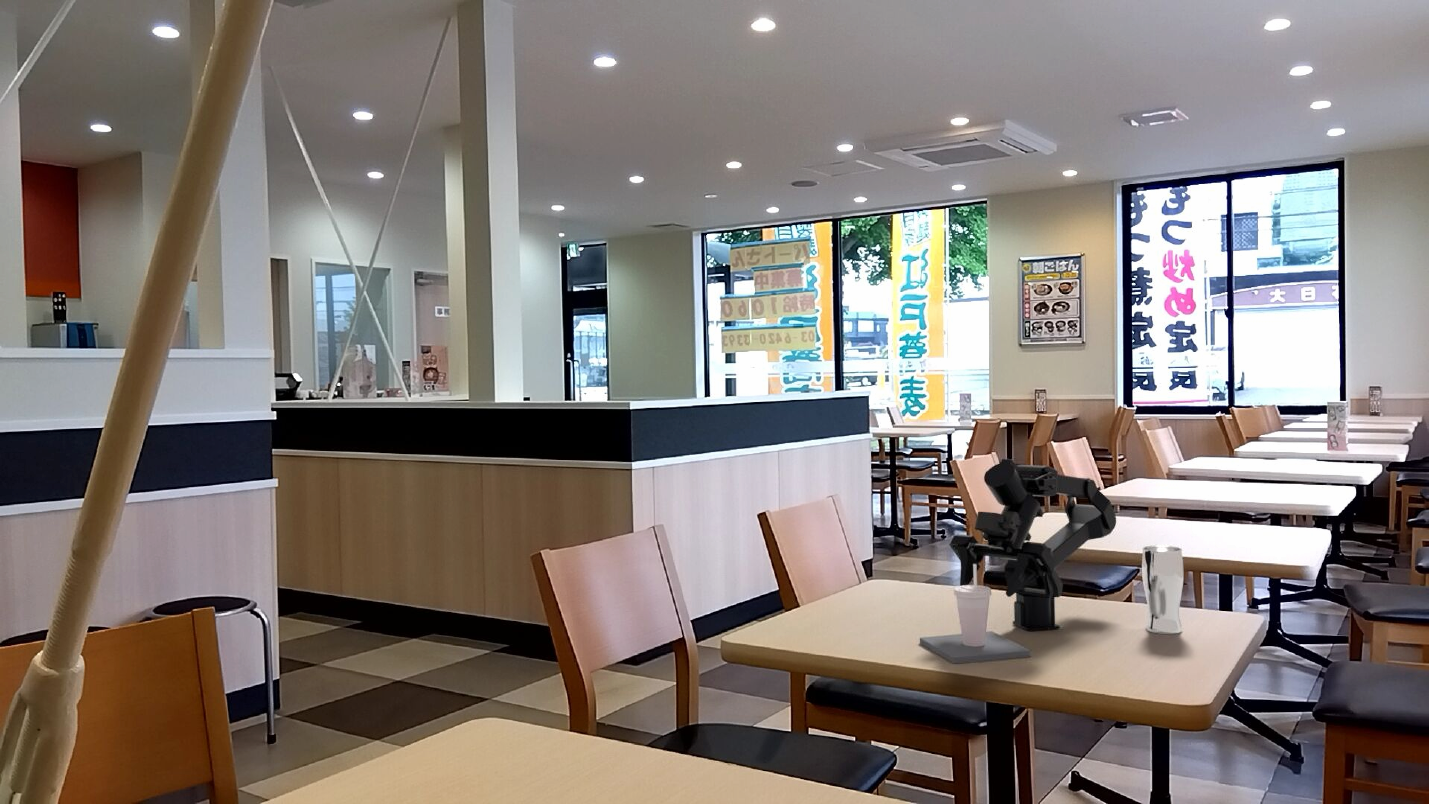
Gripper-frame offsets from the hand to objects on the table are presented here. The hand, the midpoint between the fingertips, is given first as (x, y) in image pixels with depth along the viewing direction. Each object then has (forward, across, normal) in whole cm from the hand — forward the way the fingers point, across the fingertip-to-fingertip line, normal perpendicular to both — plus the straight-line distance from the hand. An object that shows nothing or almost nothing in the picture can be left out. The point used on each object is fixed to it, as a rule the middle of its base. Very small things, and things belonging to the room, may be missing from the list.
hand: (984, 592), depth 185 cm
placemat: (+9, 0, +4) cm, 10 cm away
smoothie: (+9, 0, +3) cm, 9 cm away
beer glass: (-14, +19, +28) cm, 36 cm away
